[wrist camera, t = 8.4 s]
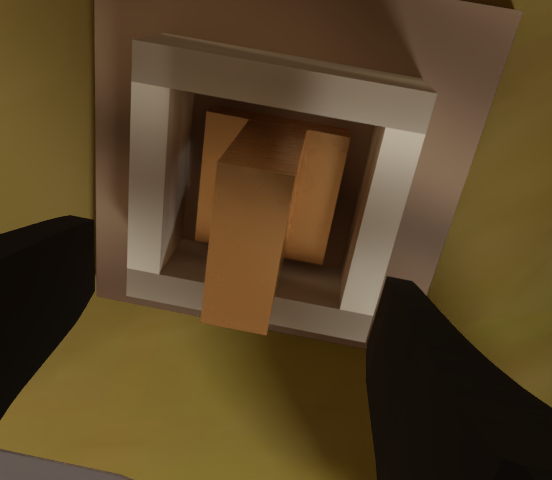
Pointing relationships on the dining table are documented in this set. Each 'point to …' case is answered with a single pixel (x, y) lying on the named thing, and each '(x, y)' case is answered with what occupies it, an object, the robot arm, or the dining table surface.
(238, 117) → the wooden stepped block
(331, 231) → the well block
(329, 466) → the dining table surface
